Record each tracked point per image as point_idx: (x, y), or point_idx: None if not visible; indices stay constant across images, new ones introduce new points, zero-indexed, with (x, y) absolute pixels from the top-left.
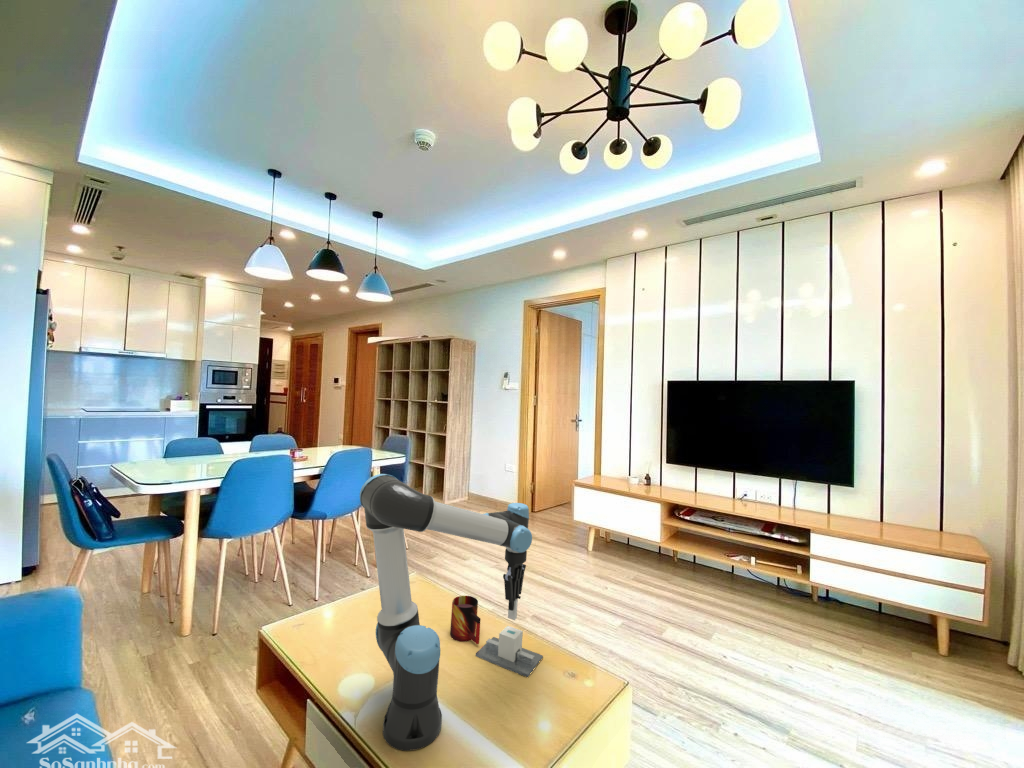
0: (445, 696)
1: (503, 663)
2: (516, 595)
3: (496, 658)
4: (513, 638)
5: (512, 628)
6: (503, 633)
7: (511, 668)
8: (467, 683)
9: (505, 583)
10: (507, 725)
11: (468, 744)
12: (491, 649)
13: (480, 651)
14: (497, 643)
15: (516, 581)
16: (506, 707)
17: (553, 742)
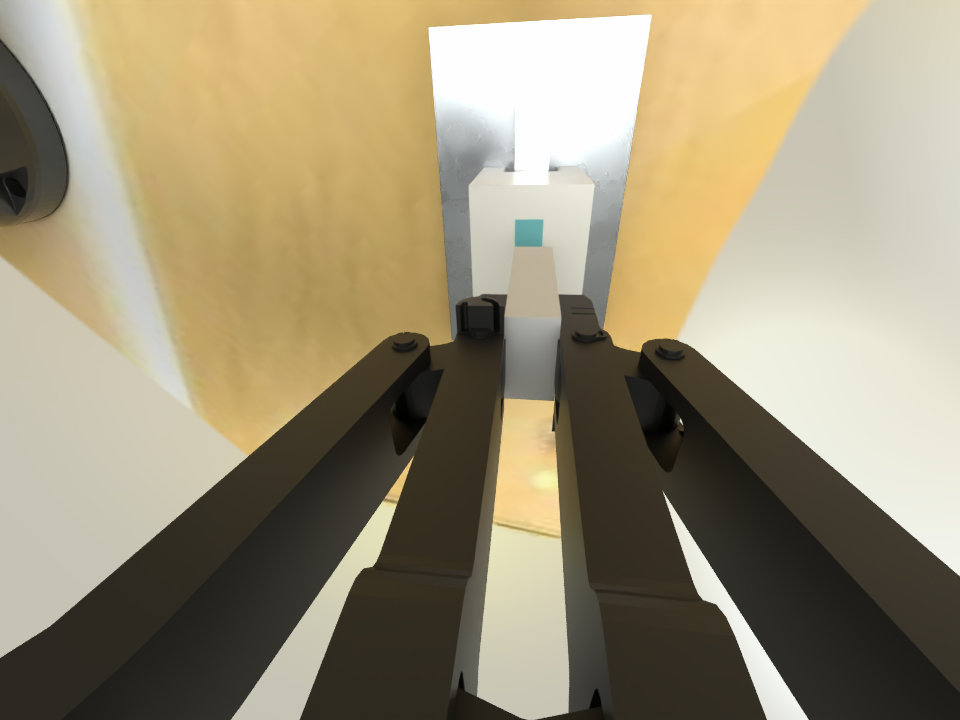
0: (135, 109)
1: (449, 224)
2: (555, 411)
3: (462, 172)
4: (474, 290)
5: (575, 233)
6: (484, 211)
7: (447, 269)
8: (257, 143)
9: (159, 563)
10: (245, 364)
11: (115, 310)
12: (513, 97)
13: (459, 45)
14: (533, 129)
15: (477, 642)
16: (290, 334)
17: None
